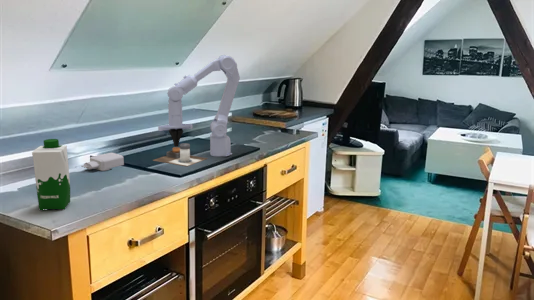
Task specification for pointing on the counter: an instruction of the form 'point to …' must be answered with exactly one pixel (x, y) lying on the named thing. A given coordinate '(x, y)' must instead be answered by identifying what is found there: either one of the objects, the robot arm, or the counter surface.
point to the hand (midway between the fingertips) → (176, 146)
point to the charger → (104, 161)
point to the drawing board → (178, 159)
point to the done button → (176, 149)
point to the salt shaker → (184, 152)
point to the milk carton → (52, 175)
